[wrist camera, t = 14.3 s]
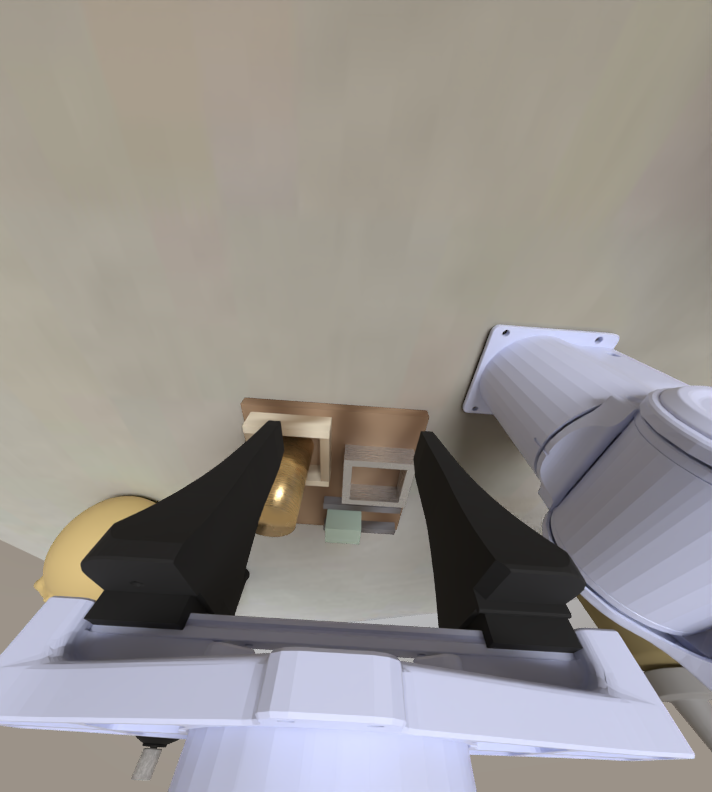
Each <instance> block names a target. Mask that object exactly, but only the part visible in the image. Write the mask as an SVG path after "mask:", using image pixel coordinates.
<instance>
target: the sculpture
mask: <svg viewBox="0 0 712 792" xmlns="http://www.w3.org/2000/svg"><path fill="white" fill-rule="evenodd" d="M154 504H156V503H155V502H153V501H150V500H148V499H145V498H141V497H136V496H120V497H114V498H110V499H107V500H104V501H102V502H99V503H97V504H95V505H93V506H92V507H90V508H88V509H87V510H85V511H84V512H82V513H81V514H79V515H78V516H77V517H75V518H74V519H73V520H72V521H71V522H70V523H69V524H68V525H67V526H66V527H65V528H64V529H63V530H62V531H61V532H60V534H59V535H58V536H57V538H56V539H55V541H54V542H53V544H52V545H51V547H50V549H49V551H48V553H47V556H46V559H45V562H44V567H43V576H42V577H41V578H40V579H39V580H37V581H36V582H35V584H34V588H35V589H36V590H37V591H39V593H40V594H41V596H42V597H43V598H44V599H43V601H44V602H46V601H47V600H48V599H49V598H50V597H52V596H69V597H84V598H90V599H93V600H96V601H97V599H98V598H99V596H100V595H101V594H102V592H103V591H104V590H103V589H102V588H101V587H100V586H98V585H97V584H96V583H95V582H93V581H92V580H91V579H90V578H89V577H87V576H86V575H85V574H84V573H83V572H82V570H81V566H80V563H81V561H82V560H83V559H84V557H85V556H86V555H87V554H88V553H89V552H90V550H91V549H92V548H93V547H94V546H95V545H96V543H97V542H98V541H99V540H100V539H101V538H102V536H103V535H104V534H105V533H106V532H107V531H108V529H109V528H110V527H111V526H112V525H113V524H114V523H116V522H118V521H120V520H122V519H125V518H127V517H129V516H131V515H133V514H135V513H137V512H139V511H142V510H144V509H146V508H148V507H150V506H152V505H154Z"/></svg>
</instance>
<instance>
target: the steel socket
mask: <svg viewBox="0 0 712 792" xmlns="http://www.w3.org/2000/svg"><path fill="white" fill-rule="evenodd" d="M414 454H415V453H414V449H403V448H389V447H375V446H360V445H345V456H344V471H343V488H342V504H355V505H370V506H385V507H400V508H405V505H406V501H407V498H408V494H409V491H410V488H411V484H412V481H413V478H414V474H415V471H414V461H413V458H414ZM352 466H354V467H369V468H384V469H398V470H400V474H399V478H398V482H397V486H396V487H392V486H378V485H363V484H351V475H352Z"/></svg>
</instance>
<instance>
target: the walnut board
mask: <svg viewBox="0 0 712 792" xmlns="http://www.w3.org/2000/svg"><path fill="white" fill-rule="evenodd" d="M241 408H242V413H243V417H244V421H245V420H246V419H247V417H248V416H249V414H250V412H263V413H277V414H291V415H305V416H320V417H332V437H331V474H330V481H329V487H323V486H308V485H305V488H304V492H303V497H302V501H301V505H300V509H299V514H298V518H297V522H296V523H298V524H313V525H324V530H325V525H326V518H327V510H328V509H333V510H348V511H361V532H363V533H378V534H394V533H395V530H397V526H398V523H399V519H400V516H401V512H402V509H403V508H400V507H385V506H370V505H355V504H342V488H343V471H344V456H345V445H360V446H375V447H389V448H403V449H414V453H415V450H416V447H417V443H418V440H419V436H420V433H421V431H425V430H426V426H427V423H428V420H429V415H428V412H427V411H425V410H411V409H397V408H383V407H369V406H355V405H341V404H327V403H312V402H298V401H284V400H270V399H256V398H244V400H243V401H242V403H241ZM311 439H312V441H313V443H314V450H313V454H312V458H311V463H310V465H320V438H311ZM399 474H400V470H398V469H384V468H369V467H354V466H352V475H351V484H363V485H378V486H392V487H396V486H397V482H398V478H399Z"/></svg>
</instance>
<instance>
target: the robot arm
mask: <svg viewBox="0 0 712 792" xmlns="http://www.w3.org/2000/svg"><path fill="white" fill-rule="evenodd" d="M505 330H507V333H506V334H504V335H502V333H503V332H504V331H505ZM598 337H599V338H598ZM597 338H598V340H596V339H597ZM595 340H596V341H595ZM618 341H619V336H618V335H616V334H614V333H604V332H591V331H577V330H564V329H551V328H538V327H525V326H512V325H496V326H494V327H493V328H492V329H491V331H490V334H489V337H488V339H487V342H486V345H485V348H484V350H483V353H482V356H481V358H480V361H479V364H478V366H477V369H476V372H475V374H474V377H473V380H472V382H471V385H470V388H469V390H468V393H467V396H466V398H465V401H464V404H463V410H464V411H465V412H467V413H480V414H494V416H495V417H496V419H497V420H498V422H499V423H500V424H501V426H502V427H503V429H504V430H505V431H506V433H507V434H508V436H509V437H510V439H511V440H512V441H513V443H514V444H515V446H516V447H517V449H518V450H519V451H520V453H521V454H522V456H523V457H524V459H525V460H526V461H527V463H528V464H529V466H530V467H531V468H532V470H533V471H534V473H535V474H536V476H537V477H538V478H539V480H540V482H541V486H540V489H539V491H538V494H539V495H540V497H541V498H542V500H543V501H544V503H545V504H546V506H547V507H548V509H549V511H548V512H547V514H546V515H545V517H544V519H543V523H542V533H543V536H541V535H540V534H538V533H537V532H536V531H534V530H533V529H531V528H530V527H529V526H527V525H526V524H524V523H523V522H522V521H520V520H519V519H518V518H516V517H515V516H514V515H512V514H511V513H510V512H509V511H507V510H506V509H505V508H504V507H503V506H501V505H500V504H499V503H498V502H497V501H495V500H494V499H493V498H492V497H491V496H490V495H489V494H488V493H486V492H485V491H484V490H483V489H482V488H481V487H480V486H479V485H478V484H477V483H476V482H475V481H474V480H473V479H472V478H471V477H470V476H469V475H468V474H467V473H466V472H465V471H464V469H463V468H462V467H461V466H460V465H459V464H458V463H457V461H456V460H455V459H454V458H453V457H452V455H451V454H450V453H449V452H448V451H447V449H446V448H445V447H444V445H443V444H442V443H441V442H440V440H439V439H438V438H437V436H436V435H435V434H434V433H433V432H429V431H421V433H420V436H419V440H418V443H417V447H416V450H415V454H414V458H413V461H414V471H415V478H416V482H417V486H418V490H419V494H420V498H421V502H422V507H423V511H424V515H425V519H426V524H427V529H428V535H429V542H430V549H431V557H432V565H433V573H434V582H435V591H436V602H437V613H438V625H439V628H430V627H413V626H396V625H380V624H364V623H347V622H331V621H314V620H298V619H281V618H264V617H248V616H235V611H236V607H237V603H238V598H239V594H240V590H241V586H242V581H243V578H244V574H245V570H246V566H247V562H248V558H249V554H250V551H251V547H252V544H253V540H254V536H255V533H256V530H257V526H258V523H259V520H260V516H261V514H262V511H263V508H264V505H265V503H266V501H267V498H268V496H269V493H270V491H271V488H272V486H273V483H274V481H275V478H276V476H277V473H278V471H279V468H280V465H281V461H282V457H283V453H284V443H283V435H282V427H281V421H272V420H269V421H267V422H266V423H265V424H264V425H263V426H262V427H261V428H260V429H259V430H258V431H257V432H256V433H255V434H254V435H253V436H251V437H250V438H249V439H248V440H247V441H246V442H245V443H244V444H243V445H242V446H241V447H239V448H238V449H237V450H236V451H235V452H234V453H232V454H231V455H230V456H229V457H227V458H226V459H225V460H224V461H223V462H221V463H220V464H219V465H217V466H216V467H215V468H213V469H212V470H211V471H209V472H208V473H206V474H205V475H203V476H202V477H200V478H199V479H197V480H196V481H194V482H192V483H191V484H189V485H187V486H186V487H184V488H183V489H181V490H179V491H178V492H176V493H174V494H172V495H171V496H169V497H167V498H165V499H163V500H161V501H159V502H158V503H156V504H154V505H152V506H150V507H148V508H146V509H144V510H142V511H139V512H137V513H135V514H133V515H131V516H129V517H127V518H125V519H122V520H120V521H118V522H116V523H114V524H113V525H112V526H111V527H110V528H109V529H108V531H107V532H106V533H105V534H104V535H103V536H102V538H101V539H100V540H99V541H98V542H97V543H96V545H95V546H94V547H93V548H92V549H91V550H90V552H89V553H88V554H87V555H86V556H85V557H84V559H83V560H82V561H81V563H80V566H81V570H82V572H83V573H84V574H85V575H86V576H87V577H89V578H90V579H91V580H92V581H93V582H95V583H96V584H97V585H98V586H100V587H101V588H102V589H103V590H104V591H103V592H102V594H101V595H100V596H99V598H98V599H97V601H96V600H93V599H90V598H84V597H69V596H52V597H50V598H49V599H48V600H47V601H46V603H45V604H44V605H43V606H42V608H40V610H39V611H38V612H37V613H36V614H35V615H34V617H33V618H32V619H31V620H30V621H29V622H28V624H27V625H26V626H25V627H24V628H23V629H22V631H21V632H20V633H19V634H18V635H17V636H16V638H15V639H14V640H13V641H12V642H11V643H10V645H9V646H8V647H7V648H6V649H5V650H4V652H3V653H2V654H1V655H0V726H8V727H14V728H29V729H45V730H63V731H77V732H92V733H107V734H121V735H134V736H148V737H161V738H175V739H186V741H185V744H184V747H183V750H182V753H181V755H180V758H179V761H178V764H177V767H176V770H175V773H174V776H173V778H172V781H171V784H170V787H169V790H168V792H477V790H476V786H475V781H474V775H473V770H472V765H471V761H470V755H497V756H499V755H501V756H527V757H554V758H578V759H602V760H621V761H645V760H671V759H694V757H695V754H694V752H693V751H692V749H691V747H690V746H689V744H688V743H687V741H686V740H685V738H684V736H683V735H682V733H681V732H680V730H679V728H678V727H677V725H676V724H675V722H674V721H673V719H672V717H671V716H670V714H669V713H668V711H667V709H666V708H665V706H664V705H663V703H662V701H661V700H660V698H659V697H658V695H657V693H656V692H655V690H654V689H653V687H652V686H651V684H650V682H649V681H648V679H647V678H646V676H645V674H644V673H643V671H642V670H641V668H640V666H639V665H638V663H637V662H636V660H635V659H634V657H633V655H632V654H631V652H630V651H629V649H628V647H627V646H626V644H625V643H624V641H623V640H622V638H621V636H620V635H619V633H618V632H617V631H615V630H613V629H596V628H578V629H574V630H573V628H572V626H571V624H570V622H569V620H568V618H571V613H570V611H569V609H568V607H567V605H566V603H567V602H569V601H570V600H572V599H573V598H575V597H576V596H578V595H579V594H581V595H582V596H583V597H584V598H585V599H586V600H587V601H588V602H589V603H590V604H591V605H593V606H594V607H595V608H596V609H598V610H599V611H600V612H601V613H603V614H604V615H605V616H607V617H608V618H610V619H611V620H613V621H614V622H615V623H617V624H618V625H620V626H622V627H624V628H625V629H627V630H629V631H631V632H633V633H634V634H636V635H638V636H640V637H642V638H643V639H645V640H647V641H649V642H650V643H652V644H653V645H655V646H656V647H658V648H659V649H661V650H662V651H664V652H665V653H666V654H668V655H669V656H670V657H672V658H673V659H674V660H676V661H677V662H678V663H679V664H680V665H682V666H683V667H684V668H685V669H686V670H687V671H689V672H690V673H691V674H692V675H693V676H694V677H696V678H697V679H698V680H699V681H700V682H701V683H702V684H703V685H704V686H706V687H707V688H708V689H709V690H710V691H711V692H712V387H709V386H690V385H688V384H686V383H684V382H682V381H679V380H677V379H675V378H673V377H671V376H669V375H667V374H665V373H663V372H661V371H658V370H656V369H654V368H652V367H650V366H648V365H646V364H644V363H642V362H639V361H637V360H635V359H633V358H631V357H629V356H627V355H625V354H623V353H620V352H618V351H616V350H614V349H613V348H614V347H615V346H616V344H617V343H618ZM473 407H476V408H474V409H472V408H473ZM253 649H266V650H273V651H272V652H271V653H262V654H255V652H254V650H253ZM397 657H403V658H415V659H414V661H413V662H414V663H411V662H405V661H400V660H399V659H398V658H397Z"/></svg>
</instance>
